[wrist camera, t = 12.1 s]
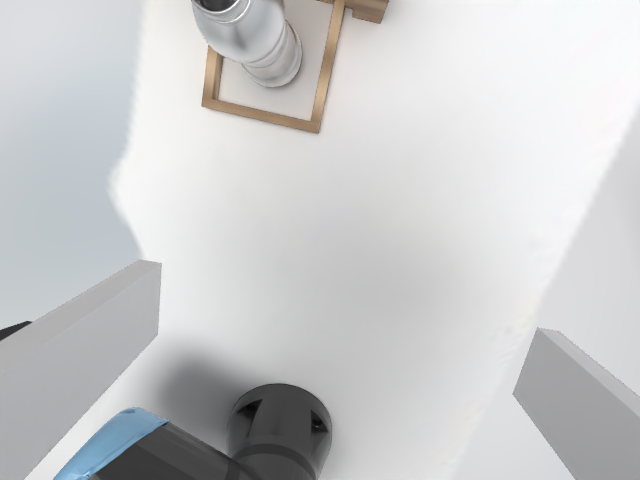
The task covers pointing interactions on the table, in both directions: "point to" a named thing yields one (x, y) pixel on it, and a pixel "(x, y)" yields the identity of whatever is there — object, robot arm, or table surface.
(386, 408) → the table surface
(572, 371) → the robot arm
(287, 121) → the headboard holder
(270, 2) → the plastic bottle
